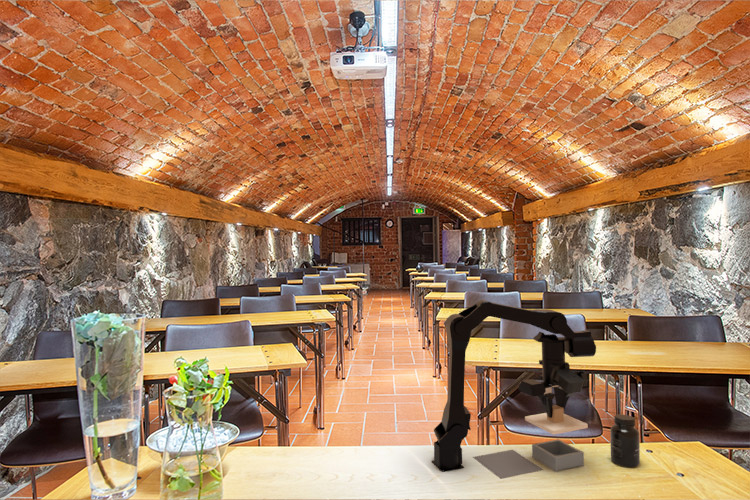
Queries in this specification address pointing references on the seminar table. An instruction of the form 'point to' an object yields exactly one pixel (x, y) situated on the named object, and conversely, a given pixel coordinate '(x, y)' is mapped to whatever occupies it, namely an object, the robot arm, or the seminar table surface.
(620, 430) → the supplement bottle
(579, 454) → the dish
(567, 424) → the lid
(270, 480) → the seminar table surface
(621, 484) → the seminar table surface
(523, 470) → the mat
